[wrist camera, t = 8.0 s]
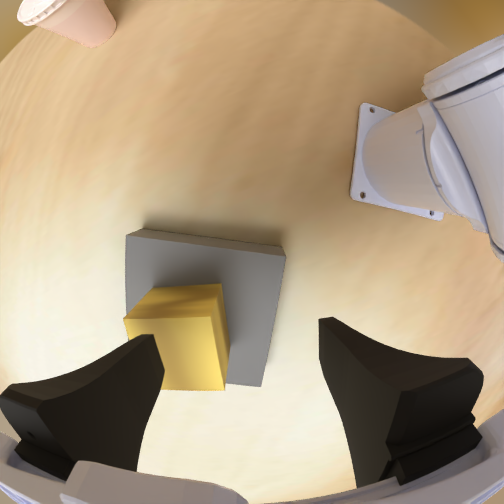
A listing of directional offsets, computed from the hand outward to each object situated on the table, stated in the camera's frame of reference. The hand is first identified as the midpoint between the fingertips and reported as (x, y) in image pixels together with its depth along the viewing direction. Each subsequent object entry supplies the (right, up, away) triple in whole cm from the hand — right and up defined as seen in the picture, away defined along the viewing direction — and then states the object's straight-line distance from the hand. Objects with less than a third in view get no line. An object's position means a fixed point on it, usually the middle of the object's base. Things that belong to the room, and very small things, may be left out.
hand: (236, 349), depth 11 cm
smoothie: (-14, +25, +5) cm, 29 cm away
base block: (-3, 0, +11) cm, 12 cm away
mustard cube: (-4, -1, +8) cm, 9 cm away
